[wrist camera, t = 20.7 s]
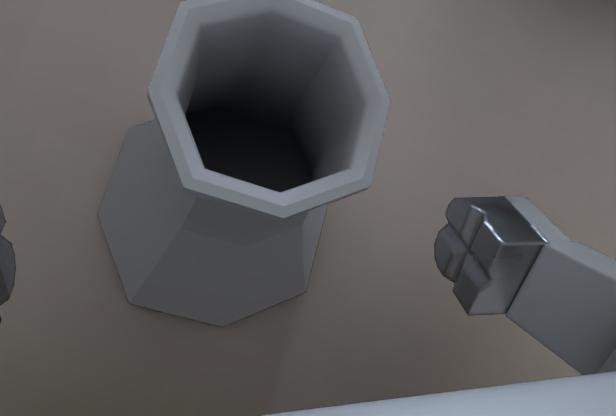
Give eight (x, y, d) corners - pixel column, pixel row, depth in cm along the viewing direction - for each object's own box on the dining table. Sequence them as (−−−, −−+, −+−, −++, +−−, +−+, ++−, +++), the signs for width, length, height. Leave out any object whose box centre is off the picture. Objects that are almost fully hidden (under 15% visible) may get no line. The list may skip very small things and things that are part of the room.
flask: (99, 103, 15) (-33, -204, 6) (317, 111, 17) (488, -111, 8) (98, 336, 14) (-69, 431, 5) (331, 317, 16) (550, 357, 7)
